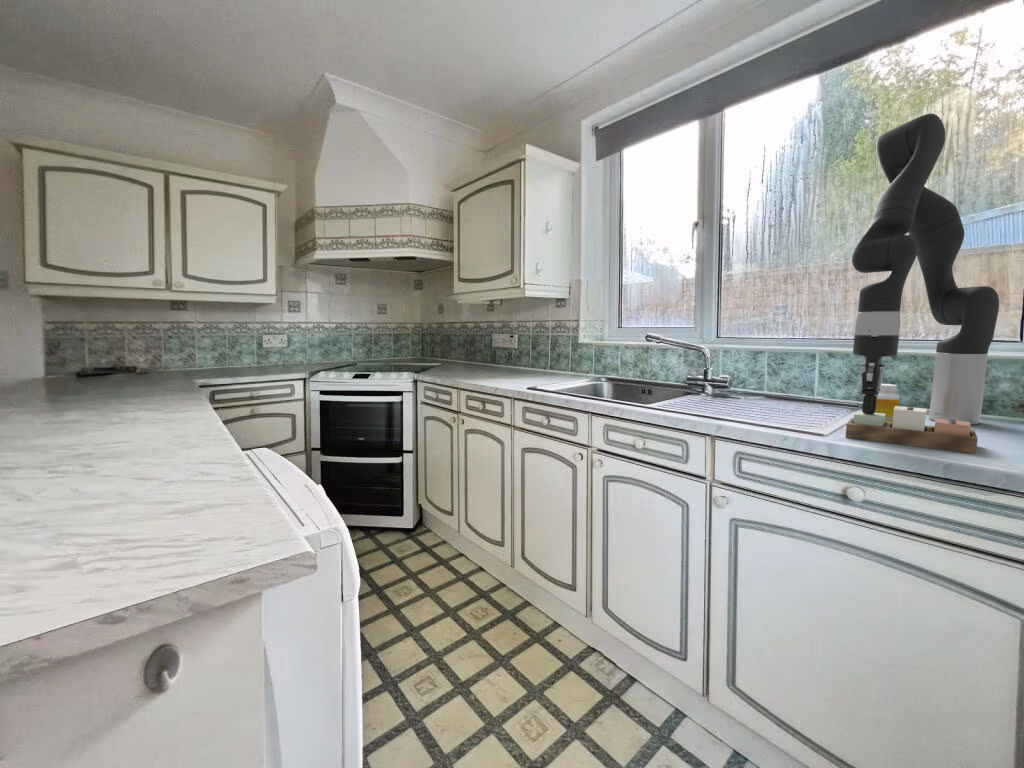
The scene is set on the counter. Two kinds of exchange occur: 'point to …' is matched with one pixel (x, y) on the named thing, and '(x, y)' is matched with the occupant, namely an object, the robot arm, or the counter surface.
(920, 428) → the cream block
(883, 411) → the supplement bottle
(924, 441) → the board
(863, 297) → the robot arm
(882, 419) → the pale green block
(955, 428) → the salmon pink block
